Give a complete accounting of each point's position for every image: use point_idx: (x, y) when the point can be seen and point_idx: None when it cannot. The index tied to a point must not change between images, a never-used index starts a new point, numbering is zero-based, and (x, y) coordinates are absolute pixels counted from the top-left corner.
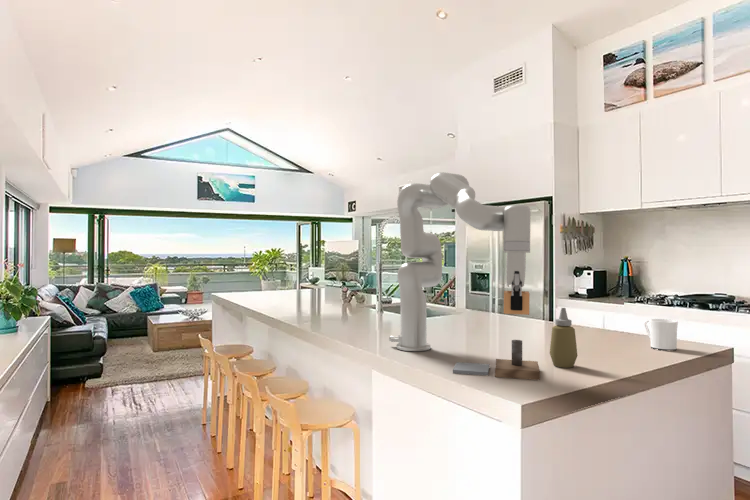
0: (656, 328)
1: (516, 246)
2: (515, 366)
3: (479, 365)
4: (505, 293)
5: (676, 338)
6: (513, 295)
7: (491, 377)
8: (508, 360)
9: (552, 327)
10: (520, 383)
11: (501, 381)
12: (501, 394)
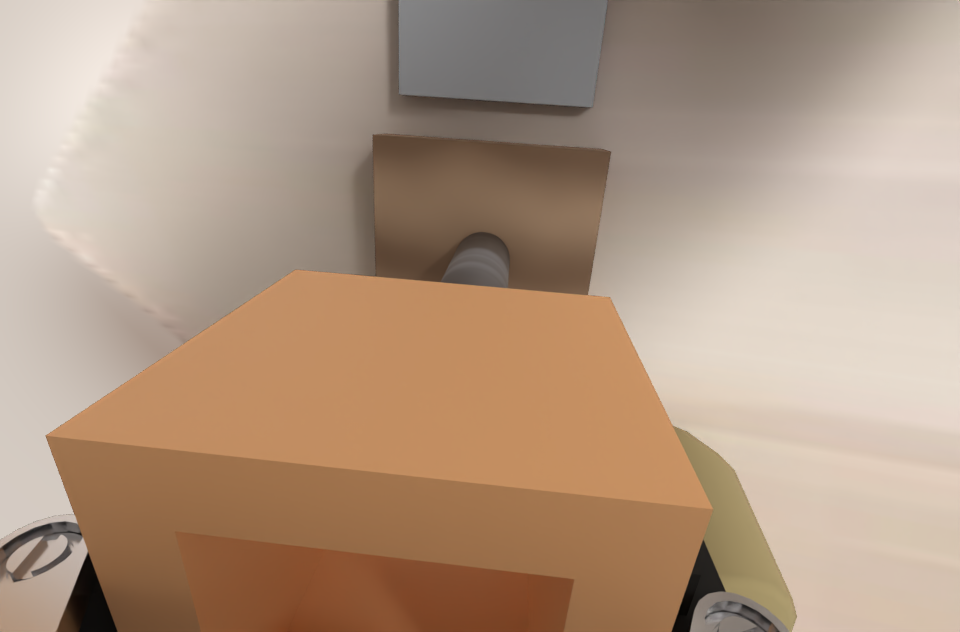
0: None
1: None
2: (438, 247)
3: (548, 39)
4: (68, 456)
5: None
6: (37, 552)
7: (374, 113)
8: (576, 222)
9: (751, 575)
10: (311, 245)
11: (315, 161)
12: (113, 150)
